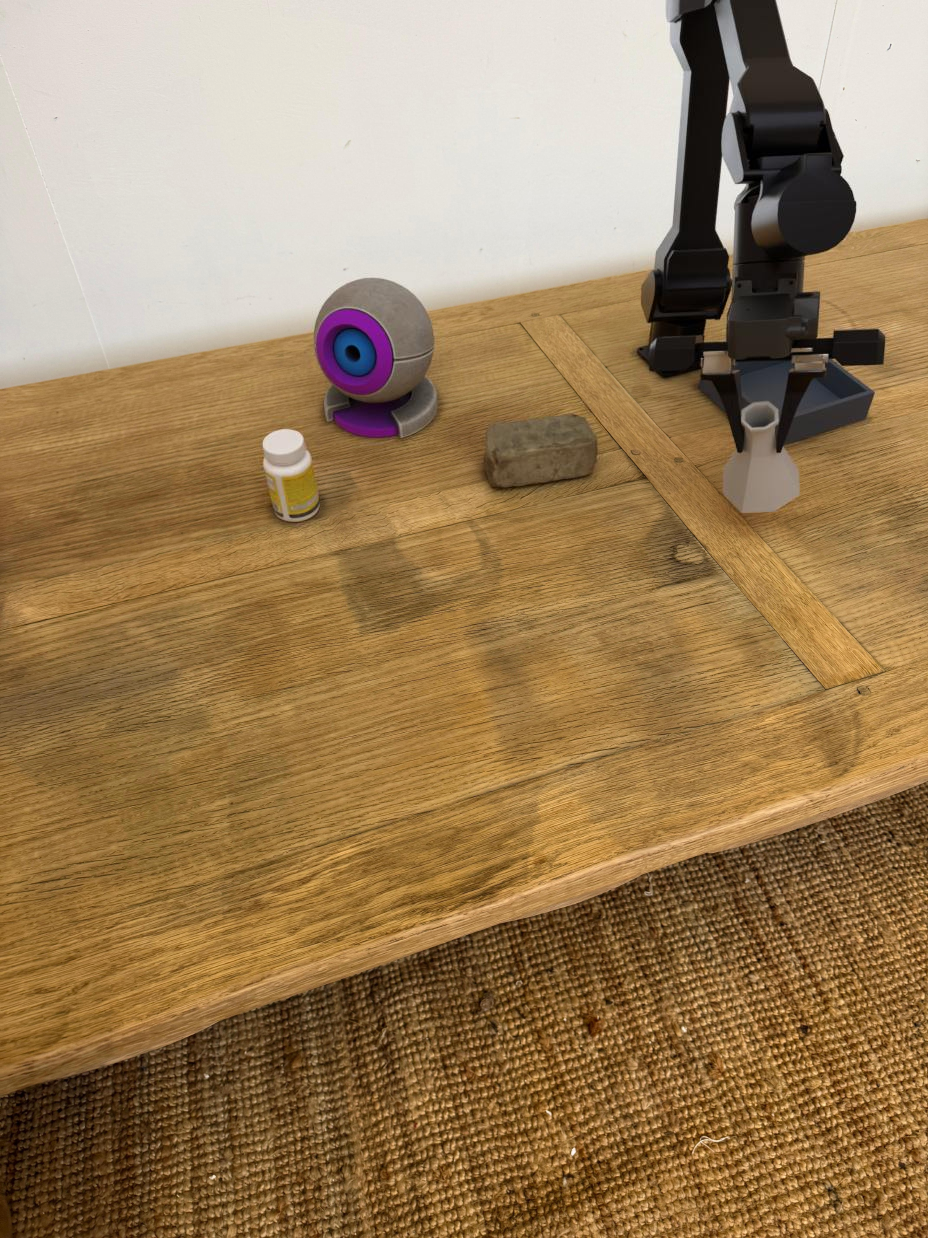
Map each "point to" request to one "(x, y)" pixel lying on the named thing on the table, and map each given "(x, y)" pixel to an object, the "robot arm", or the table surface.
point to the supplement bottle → (290, 476)
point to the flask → (760, 465)
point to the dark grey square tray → (821, 404)
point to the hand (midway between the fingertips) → (759, 452)
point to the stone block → (539, 450)
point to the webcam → (376, 359)
